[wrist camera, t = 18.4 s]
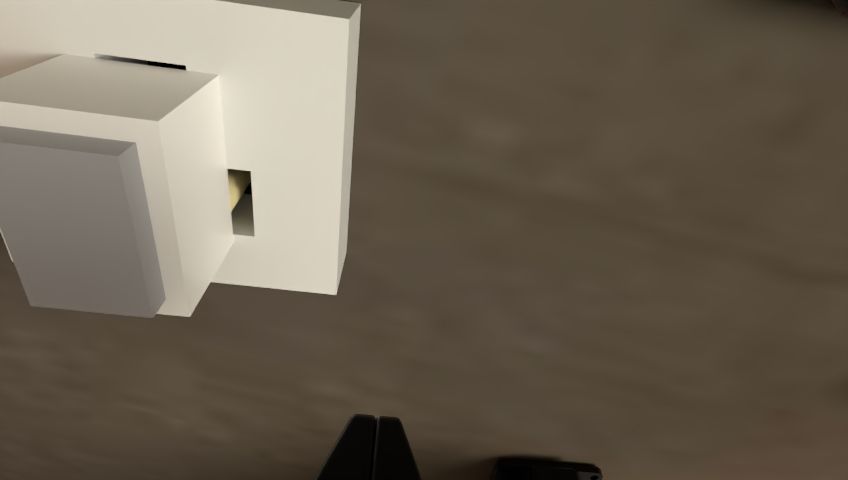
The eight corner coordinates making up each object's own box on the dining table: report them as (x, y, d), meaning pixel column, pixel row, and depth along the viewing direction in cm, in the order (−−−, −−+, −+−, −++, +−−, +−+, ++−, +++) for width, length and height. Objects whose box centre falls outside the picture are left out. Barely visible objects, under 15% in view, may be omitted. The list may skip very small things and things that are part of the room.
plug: (252, 214, 20) (182, 336, 14) (132, 200, 19) (10, 319, 14) (242, 58, 16) (146, 134, 11) (98, 39, 16) (-81, 106, 10)
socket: (346, 251, 22) (335, 294, 19) (61, 219, 21) (12, 260, 18) (360, 3, 16) (349, 19, 14) (-22, -53, 16) (-109, -47, 13)
